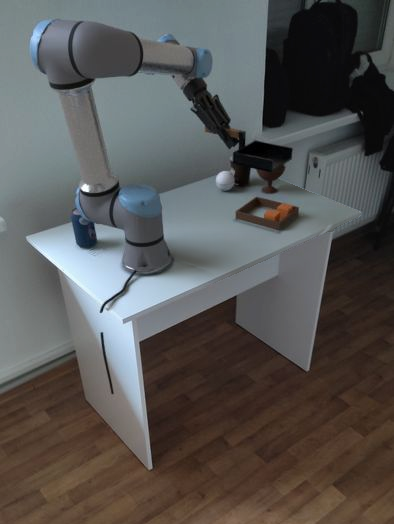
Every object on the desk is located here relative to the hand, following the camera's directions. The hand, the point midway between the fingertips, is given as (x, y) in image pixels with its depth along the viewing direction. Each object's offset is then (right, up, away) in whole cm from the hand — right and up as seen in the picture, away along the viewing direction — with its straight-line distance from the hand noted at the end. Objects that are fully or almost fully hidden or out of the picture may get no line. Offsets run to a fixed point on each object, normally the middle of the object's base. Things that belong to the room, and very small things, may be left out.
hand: (234, 145), depth 164 cm
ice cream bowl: (+16, -5, +32) cm, 36 cm away
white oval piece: (0, -5, +33) cm, 33 cm away
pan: (+3, -4, +1) cm, 5 cm away
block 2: (+17, -18, +12) cm, 27 cm away
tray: (+13, -20, +14) cm, 27 cm away
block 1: (+12, -21, +9) cm, 26 cm away
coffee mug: (+5, +1, +39) cm, 40 cm away
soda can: (-49, -31, +4) cm, 58 cm away
